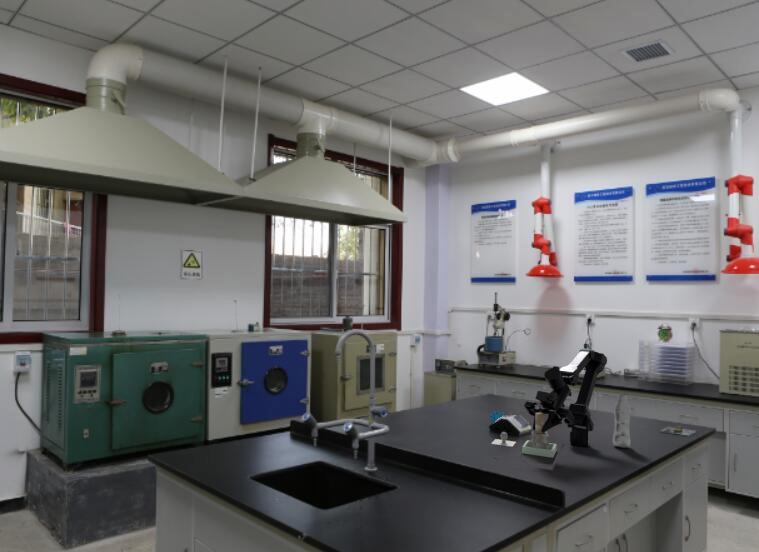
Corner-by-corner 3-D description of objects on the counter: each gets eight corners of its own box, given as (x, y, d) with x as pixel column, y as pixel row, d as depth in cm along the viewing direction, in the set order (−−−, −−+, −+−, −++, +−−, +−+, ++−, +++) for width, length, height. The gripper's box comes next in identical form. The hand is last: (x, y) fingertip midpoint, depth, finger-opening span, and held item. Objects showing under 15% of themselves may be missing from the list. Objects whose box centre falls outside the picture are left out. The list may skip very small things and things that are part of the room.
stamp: (545, 445, 205) (546, 412, 205) (548, 449, 199) (549, 415, 200) (531, 444, 205) (531, 411, 206) (533, 448, 200) (534, 414, 200)
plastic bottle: (609, 446, 219) (610, 395, 220) (616, 444, 224) (617, 393, 225) (626, 450, 215) (627, 397, 216) (633, 447, 220) (634, 396, 221)
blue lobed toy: (494, 428, 236) (488, 408, 244) (488, 436, 240) (482, 416, 247) (517, 431, 240) (510, 411, 247) (510, 438, 243) (504, 418, 251)
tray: (556, 454, 205) (556, 444, 205) (553, 461, 195) (553, 450, 195) (526, 450, 209) (527, 440, 209) (522, 457, 199) (522, 446, 200)
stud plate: (516, 445, 215) (516, 431, 216) (512, 450, 208) (512, 435, 208) (495, 442, 219) (495, 428, 219) (490, 447, 211) (491, 433, 211)
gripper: (527, 379, 213) (507, 411, 206) (570, 386, 198) (550, 421, 191) (540, 398, 217) (520, 430, 210) (583, 407, 202) (563, 441, 195)
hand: (537, 430), depth 202 cm, fingers closed on stamp, 3 cm apart
